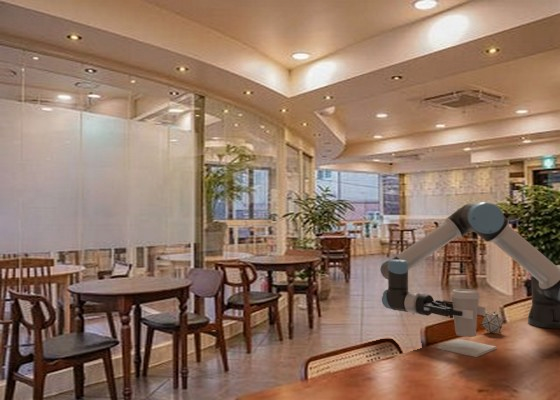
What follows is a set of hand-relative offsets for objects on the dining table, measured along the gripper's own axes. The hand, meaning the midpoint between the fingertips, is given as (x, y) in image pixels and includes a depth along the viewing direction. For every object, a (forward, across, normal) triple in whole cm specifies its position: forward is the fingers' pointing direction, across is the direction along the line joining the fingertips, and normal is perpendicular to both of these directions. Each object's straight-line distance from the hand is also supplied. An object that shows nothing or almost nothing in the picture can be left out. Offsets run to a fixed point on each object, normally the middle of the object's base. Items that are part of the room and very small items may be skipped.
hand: (478, 313), depth 164 cm
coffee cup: (-5, 0, -8) cm, 9 cm away
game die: (-9, -27, -13) cm, 31 cm away
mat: (-5, 0, -13) cm, 14 cm away
